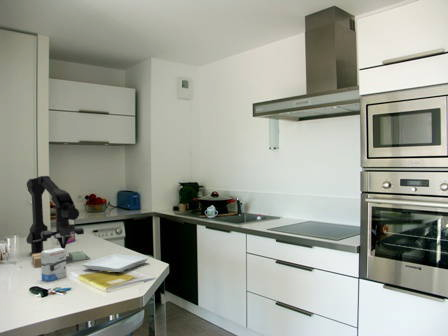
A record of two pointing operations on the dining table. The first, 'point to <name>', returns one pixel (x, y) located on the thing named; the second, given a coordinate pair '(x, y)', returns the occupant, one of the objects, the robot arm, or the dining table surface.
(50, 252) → the ink box
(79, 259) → the mat
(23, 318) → the dining table surface
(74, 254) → the sage green tile
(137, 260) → the salad plate
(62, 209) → the robot arm
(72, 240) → the candy bar box
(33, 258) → the deck
